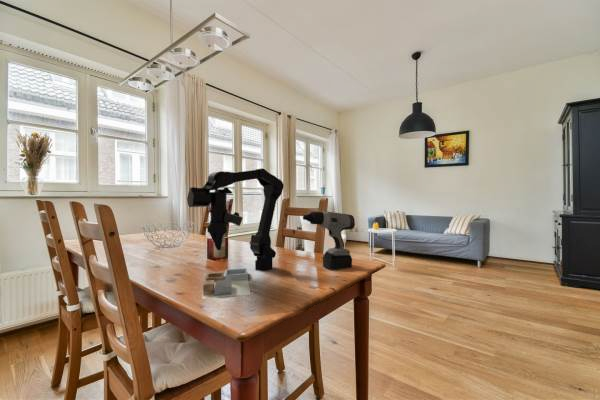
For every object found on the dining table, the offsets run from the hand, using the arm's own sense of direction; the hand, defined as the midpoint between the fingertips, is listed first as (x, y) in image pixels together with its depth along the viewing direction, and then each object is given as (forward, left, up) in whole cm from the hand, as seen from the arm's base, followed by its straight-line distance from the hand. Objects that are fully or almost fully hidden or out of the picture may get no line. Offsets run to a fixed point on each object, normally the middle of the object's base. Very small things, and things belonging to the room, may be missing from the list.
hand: (219, 248), depth 97 cm
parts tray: (-6, 0, -11) cm, 13 cm away
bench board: (-3, +6, -12) cm, 14 cm away
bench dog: (+3, +14, -11) cm, 18 cm away
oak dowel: (0, 0, -3) cm, 3 cm away
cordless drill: (-45, -7, -13) cm, 48 cm away
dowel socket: (+2, 0, -11) cm, 11 cm away
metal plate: (-2, +14, -11) cm, 18 cm away
